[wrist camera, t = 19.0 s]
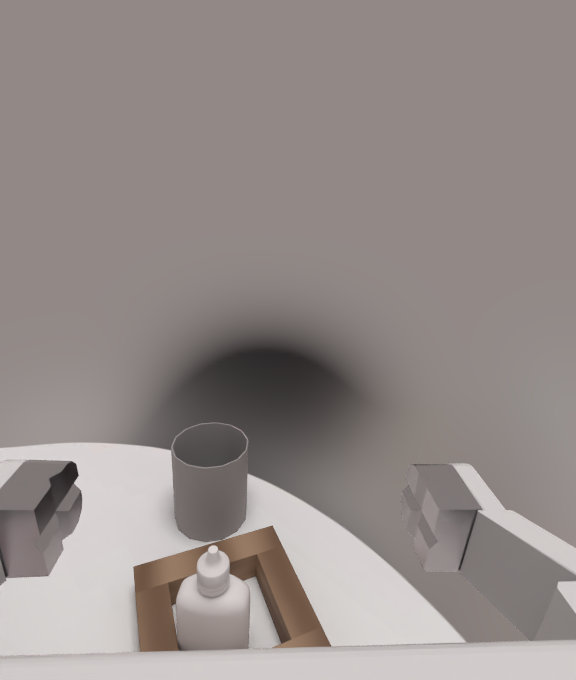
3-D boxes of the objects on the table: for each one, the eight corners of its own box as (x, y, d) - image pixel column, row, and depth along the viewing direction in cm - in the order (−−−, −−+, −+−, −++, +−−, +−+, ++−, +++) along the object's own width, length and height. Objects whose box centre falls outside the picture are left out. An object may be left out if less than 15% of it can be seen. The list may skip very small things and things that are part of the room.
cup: (196, 554, 42) (193, 479, 38) (163, 507, 48) (158, 438, 44) (259, 518, 47) (263, 448, 44) (223, 479, 53) (223, 415, 49)
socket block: (150, 776, 26) (147, 751, 25) (135, 589, 38) (133, 566, 37) (334, 684, 32) (338, 660, 30) (271, 546, 43) (272, 525, 42)
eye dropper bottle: (207, 614, 36) (205, 513, 32) (256, 652, 33) (261, 547, 29) (170, 658, 33) (163, 551, 28) (222, 704, 30) (222, 594, 26)
